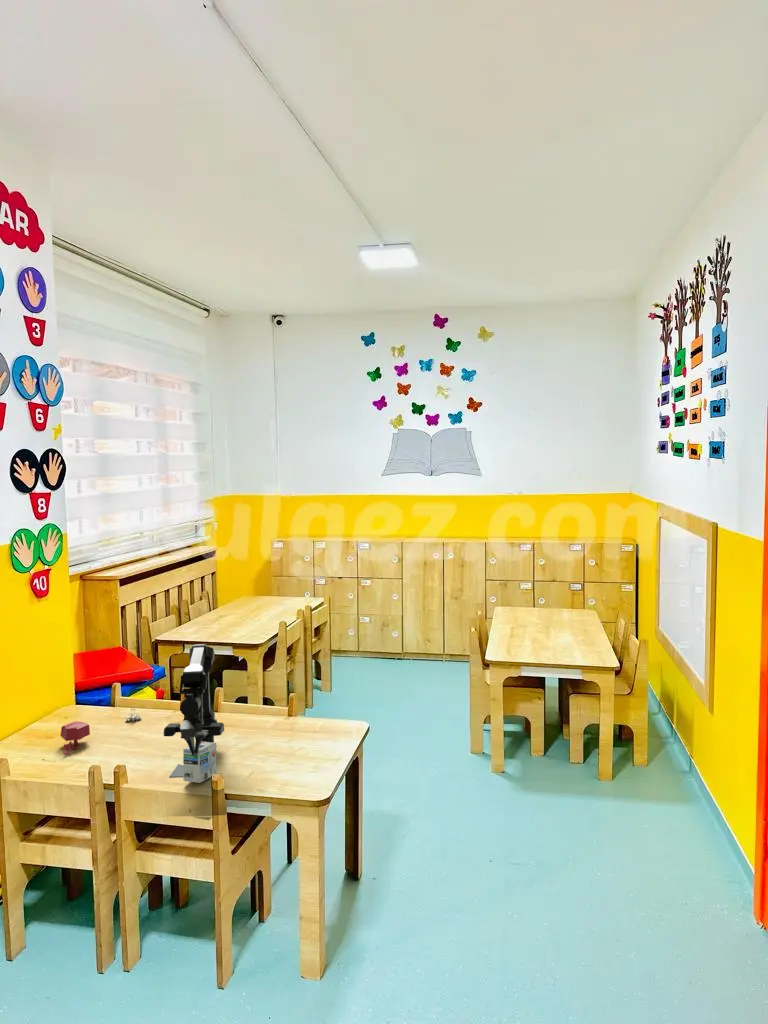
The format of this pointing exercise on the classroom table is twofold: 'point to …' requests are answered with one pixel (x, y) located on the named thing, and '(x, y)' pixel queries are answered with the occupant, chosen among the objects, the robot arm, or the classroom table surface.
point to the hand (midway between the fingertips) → (194, 755)
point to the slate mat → (177, 771)
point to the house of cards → (132, 715)
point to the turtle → (74, 733)
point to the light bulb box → (199, 763)
